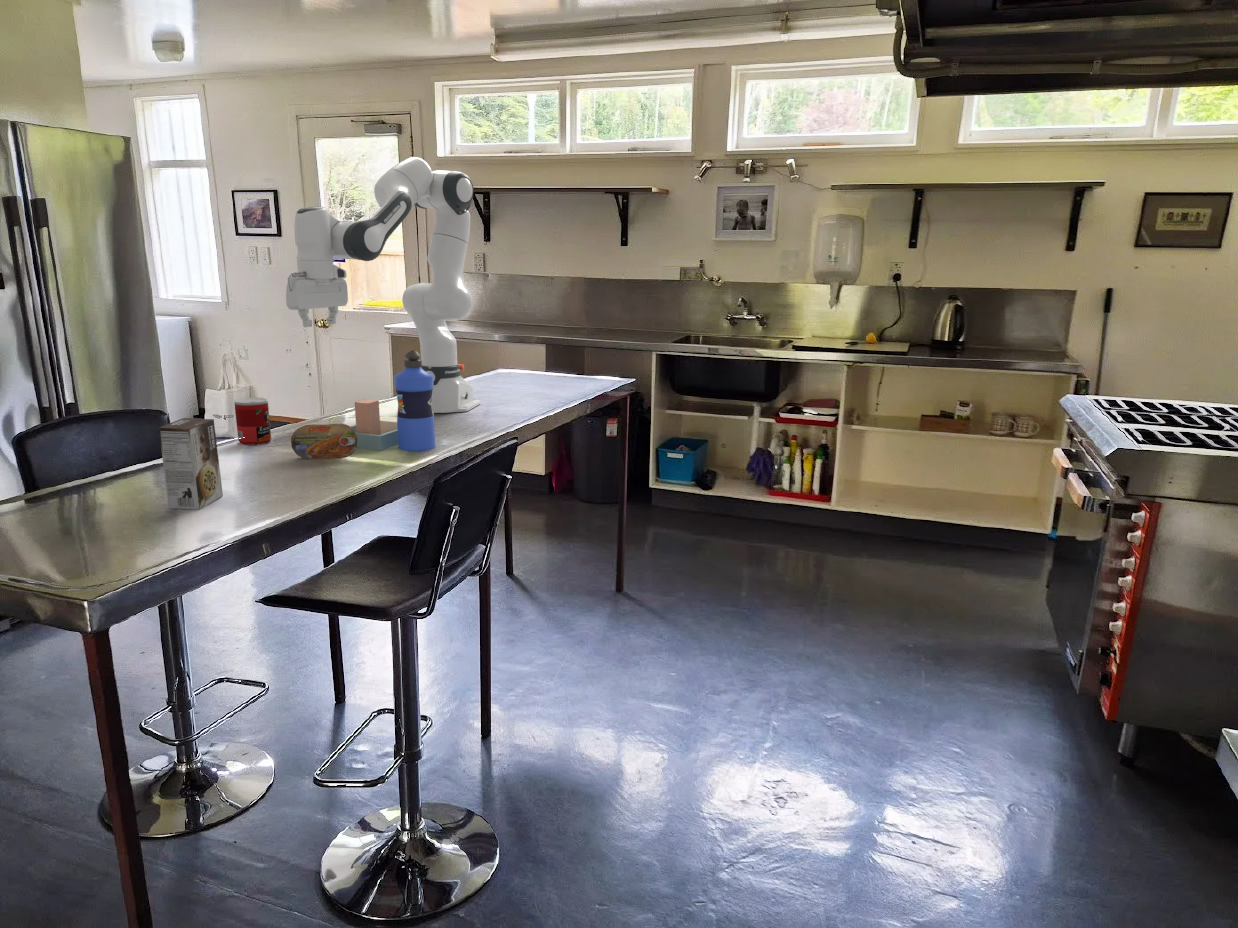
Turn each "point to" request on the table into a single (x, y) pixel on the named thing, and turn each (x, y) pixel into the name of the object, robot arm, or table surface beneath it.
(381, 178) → the robot arm
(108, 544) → the table surface
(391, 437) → the tote
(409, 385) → the water bottle
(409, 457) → the table surface
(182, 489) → the cookie box
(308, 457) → the tin
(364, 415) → the salmon brown rectangular block
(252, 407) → the canned food
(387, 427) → the beige rectangular block
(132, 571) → the table surface
